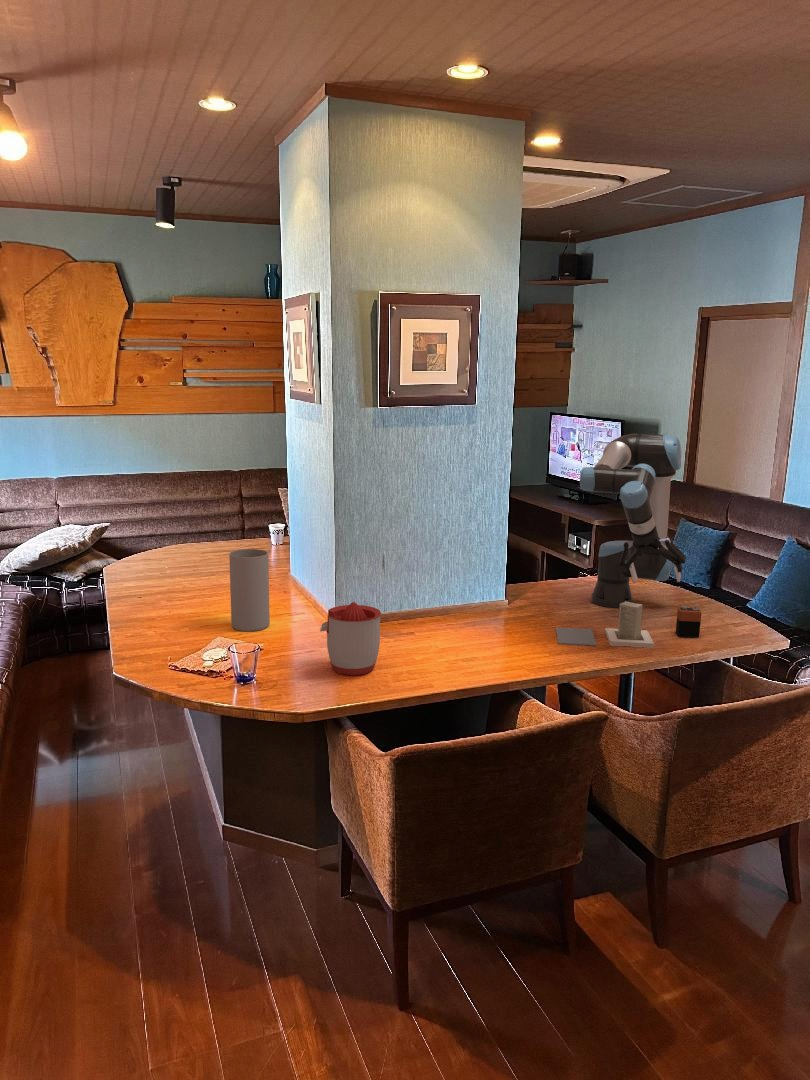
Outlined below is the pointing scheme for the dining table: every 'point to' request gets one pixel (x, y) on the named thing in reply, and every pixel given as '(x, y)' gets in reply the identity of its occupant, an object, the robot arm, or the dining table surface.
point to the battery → (688, 622)
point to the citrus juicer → (353, 638)
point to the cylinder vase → (249, 589)
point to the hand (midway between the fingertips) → (657, 579)
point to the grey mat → (575, 636)
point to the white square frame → (644, 641)
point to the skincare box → (630, 621)
